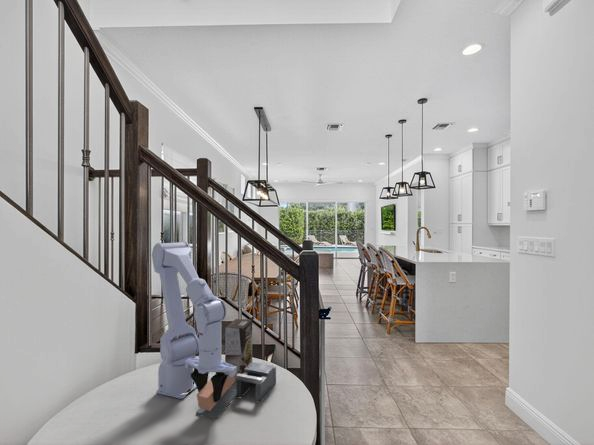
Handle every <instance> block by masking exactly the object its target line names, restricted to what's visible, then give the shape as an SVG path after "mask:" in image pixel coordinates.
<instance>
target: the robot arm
mask: <svg viewBox="0 0 594 445" xmlns="http://www.w3.org/2000/svg"><path fill="white" fill-rule="evenodd" d="M151 258H152V259H151V260H152V264H153V268H154V269H153V270H154V273H157V274H159V278H160V284H161V285H160V286H161V291H162V297H163V302H164V303H163V304H164V310H165V313H166V314H165V316H166V320H167V327H168V328H167V330H165V332H164V333H163V334H162V336H161V337H160V340H159V341H160V347H159V348H160V349H159V352H160V353H159V354H160V358H161V362H160V363H159V367H158V372H157V373H158V375H157V376H158V378H157V379H158V389H157V390H156V394H159V395H164V396H167V397H171V398H176V399H180V400H181V399H182V400H183V399H184V398H186V397H187V396H188V395H187V394H185V395H180V394H182V393H184V392H187V391H188V390H189V389H191V388H192V387H193V382H195V384H194V388H193V389H194V390H195V389H197V391H198V392H197V393H199V392H200V390H201V389H202V388H203V387H204V386H205V385H206V384H207V383H208V382H209V375H210V374H209V373H215V374H214V375H213V376H211V377H210V379H211V382H212V385H213V392H214V402H217V401H218V400H219V399H220V398H221V394H222V390H223V386H224V384H225V381H226V379H227V377H228V375H229V376H230V377H233V376H234V375H235V374H236V366H233V365H230V364H228V363H226V362H225V360H224V361H223V360H222V358H223V356H222V321H224V320H225V318H226V316H227V307H226V304H225V302H224V300H222V299H221V298H218V297H219V296H215V295H214V294H213V292H212V290H211V288H210V287H209V285H208V283H207V282H206V280H205V279H203V278H200V277H199V275H198V273H197V270H196V269H195V265H194V264H193V262H192V259H191V258H192V249H191V246H190V244H189V242H188V241H181V242H180V241H179V242H176V241H175V242H163V243H160V242H157V243H155V244H154V246H153V248H152V251H151ZM178 273H179V274H180V276H181V278H182V279H183V280H184V281H185V284H186V286H185V287H186V288H185V292H186V294H187V296H188V299H189V300H190V302H191V304H192V305H193V306H192V307H193V308H194V312H193V316H194V320H195V324H196V329H195V327H192V326H191V325H188V324H187V321H186V315H185V310H184V306H183V305H184V304H183V299H182V294H181V287H180V282H179V278H178ZM196 331H197V332H198V335H197V333H196ZM196 354H198V358H196ZM193 389H192V390H193ZM194 390H193V391H194ZM186 395H187V396H186Z"/></svg>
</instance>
